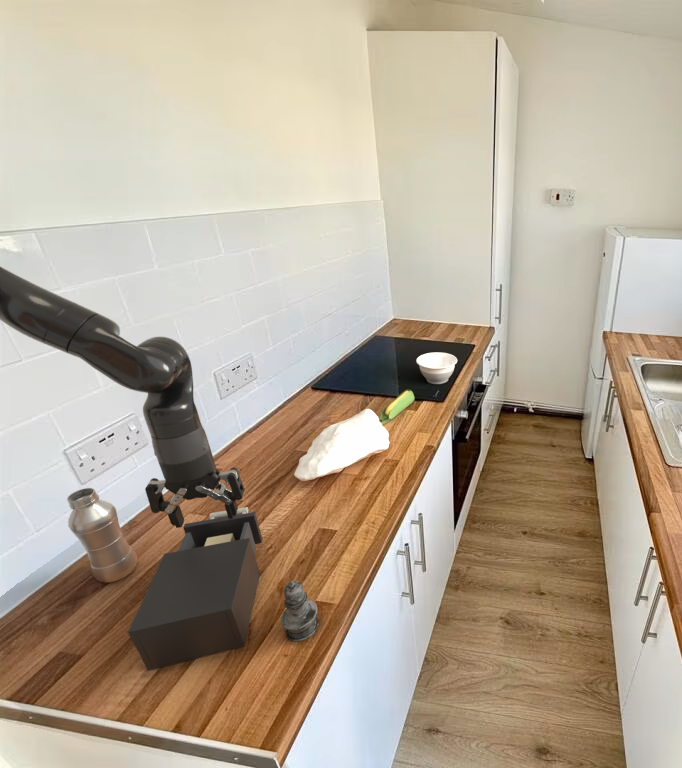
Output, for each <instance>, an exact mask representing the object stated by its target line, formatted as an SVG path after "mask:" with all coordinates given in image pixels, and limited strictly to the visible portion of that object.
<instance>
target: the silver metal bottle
mask: <svg viewBox="0 0 682 768" xmlns="http://www.w3.org/2000/svg"><path fill="white" fill-rule="evenodd" d="M66 500H67V503H68V504H69V508H70V509H71V510H72V511H71V513H70V514H69V517H68V521H67V523H68V525H67V526H68V528H69V530H70V531H71V532H72V533H73V535H74V536H75V537H76V539H78V541H79V542H80V543H81V545H82V547H83V548H84V550H85V552H86V555H87V558H88V560H89V563H90V569H91V574H92V576H93V578H95V580H96V581H98V582H101V583H108V584H109V583H113V582H117V581H120V580H122V579H124V578H125V577H127V576H128V575H130V574H131V573H133V571H134V569H135V568H136V566H137V564H138V556H137V553H136V551H135V549H133V548H132V546H130V544H129V543H128V541H127V539H126V538H125V535H124V534H123V532H122V529H121V526H120V523H119V518H118V513H117V509H116V507H115V505H113V503H111V502H109V501H106V500H103V499H100V495H99V494H98V493H97V491H96V489H94V488H93V487H85V488H80V489H78V490H76V491H73V492H71V494H69V495H68V496H67V498H66Z"/></svg>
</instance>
